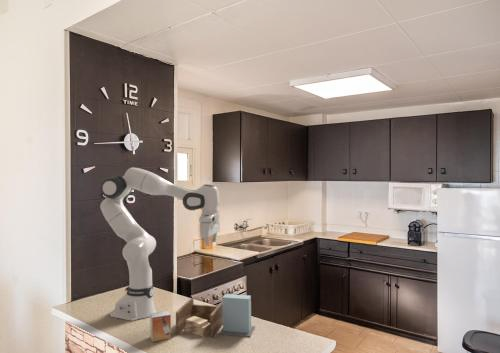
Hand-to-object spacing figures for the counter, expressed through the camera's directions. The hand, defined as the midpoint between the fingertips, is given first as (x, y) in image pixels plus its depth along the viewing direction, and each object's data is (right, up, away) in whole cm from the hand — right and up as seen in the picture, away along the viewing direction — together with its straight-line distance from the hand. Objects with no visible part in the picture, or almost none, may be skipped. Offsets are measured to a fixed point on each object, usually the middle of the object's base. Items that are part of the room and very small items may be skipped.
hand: (211, 243), depth 185 cm
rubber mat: (+14, -35, -21) cm, 43 cm away
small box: (-19, -36, -27) cm, 49 cm away
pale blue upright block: (+14, -35, -21) cm, 43 cm away
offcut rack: (-3, -35, -17) cm, 39 cm away
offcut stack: (-4, -36, -21) cm, 42 cm away
